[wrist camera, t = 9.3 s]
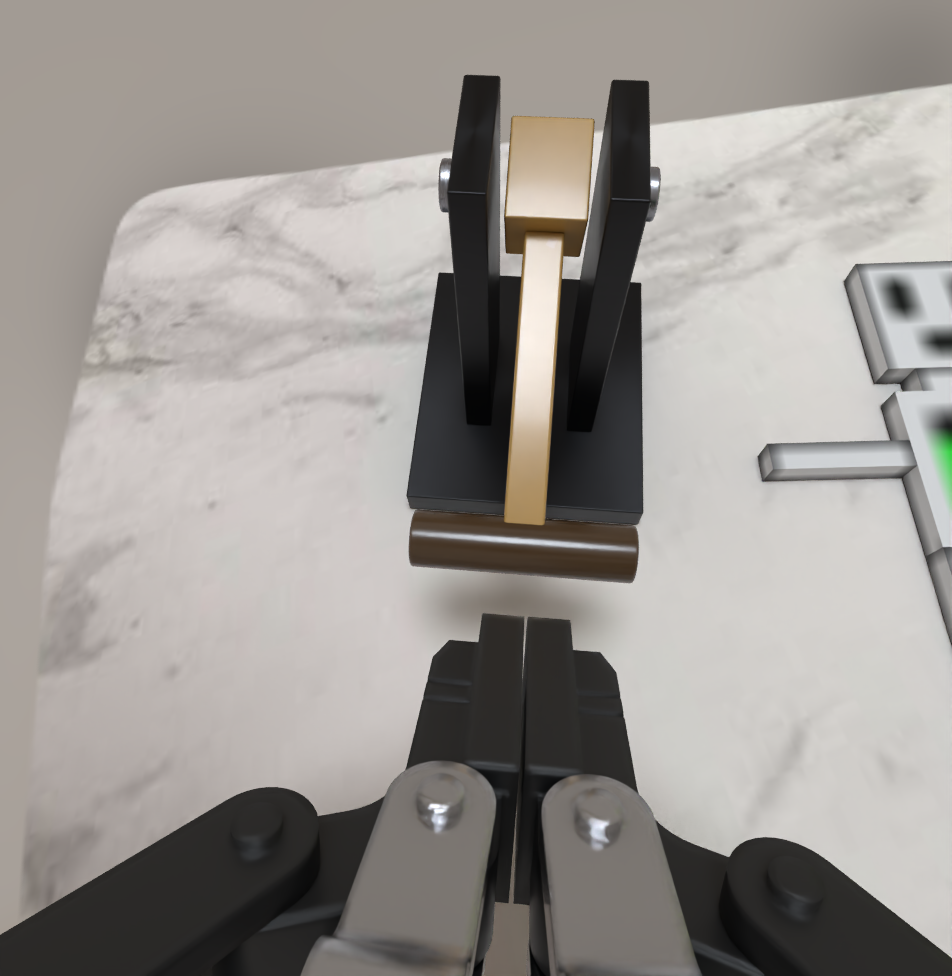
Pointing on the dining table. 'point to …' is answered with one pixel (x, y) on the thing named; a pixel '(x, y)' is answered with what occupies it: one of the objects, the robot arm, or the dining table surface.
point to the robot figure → (898, 404)
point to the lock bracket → (581, 332)
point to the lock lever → (534, 381)
